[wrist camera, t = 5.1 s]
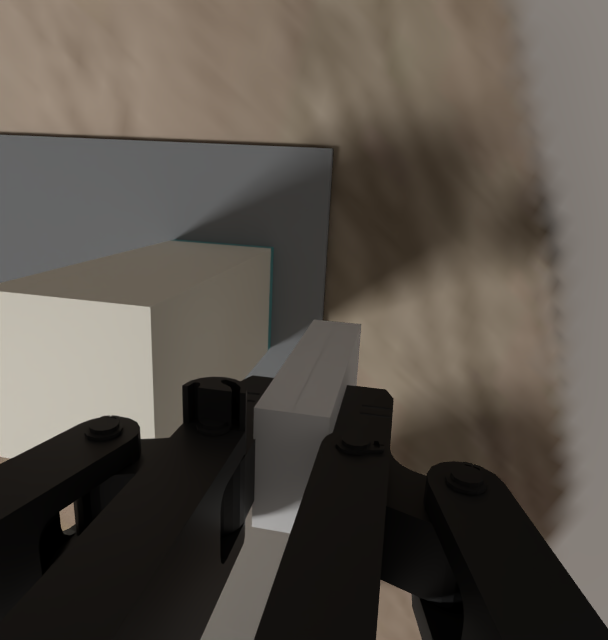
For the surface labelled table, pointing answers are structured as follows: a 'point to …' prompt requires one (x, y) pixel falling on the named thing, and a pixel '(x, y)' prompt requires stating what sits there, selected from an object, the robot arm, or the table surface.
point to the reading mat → (171, 211)
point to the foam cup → (247, 585)
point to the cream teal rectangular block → (128, 336)
